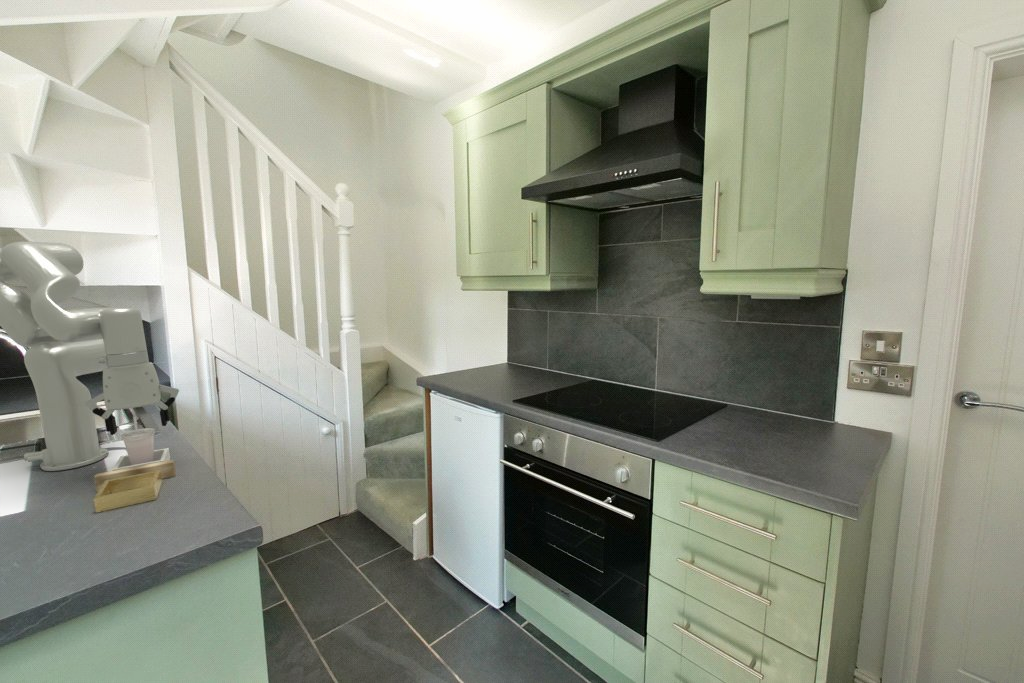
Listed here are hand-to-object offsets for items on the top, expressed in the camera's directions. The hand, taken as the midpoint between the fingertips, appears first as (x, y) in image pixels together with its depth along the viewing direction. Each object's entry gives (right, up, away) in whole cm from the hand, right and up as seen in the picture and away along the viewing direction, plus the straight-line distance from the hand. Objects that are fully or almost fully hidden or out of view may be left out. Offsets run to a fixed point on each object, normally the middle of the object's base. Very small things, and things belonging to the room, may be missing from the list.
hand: (140, 428), depth 108 cm
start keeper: (-1, -11, +2) cm, 11 cm away
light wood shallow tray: (+8, -12, -12) cm, 19 cm away
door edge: (+4, -11, -5) cm, 13 cm away
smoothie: (-1, -11, +2) cm, 11 cm away
